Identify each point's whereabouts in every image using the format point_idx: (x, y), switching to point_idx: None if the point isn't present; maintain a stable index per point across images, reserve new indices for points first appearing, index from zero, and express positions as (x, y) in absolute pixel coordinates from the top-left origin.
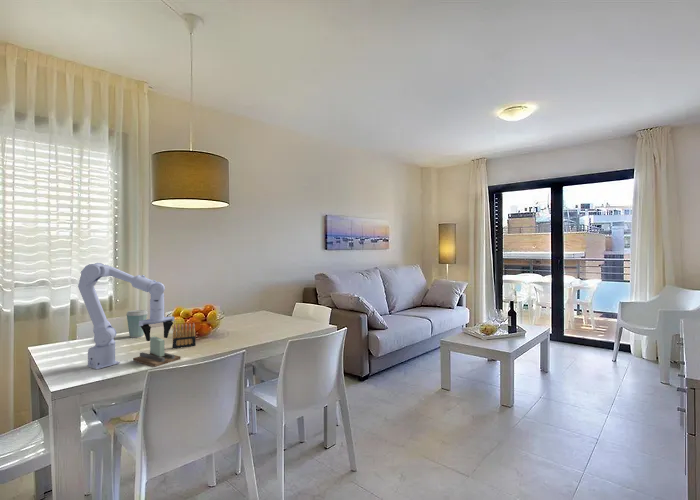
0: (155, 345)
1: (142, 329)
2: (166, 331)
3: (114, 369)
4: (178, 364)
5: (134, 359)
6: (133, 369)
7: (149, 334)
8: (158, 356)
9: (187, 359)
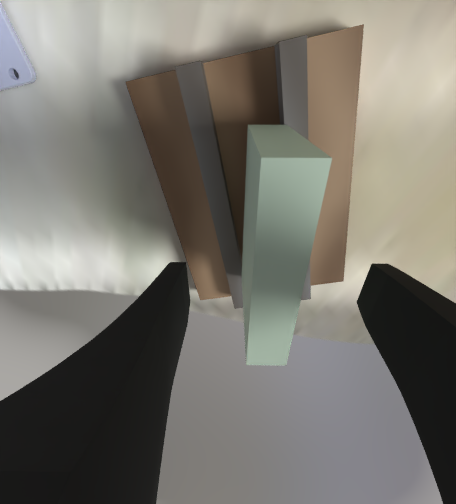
0: (246, 261)
1: (43, 379)
2: (401, 369)
3: (19, 189)
4: None
5: (135, 102)
6: (111, 257)
7: (168, 379)
8: (239, 267)
9: (351, 295)
